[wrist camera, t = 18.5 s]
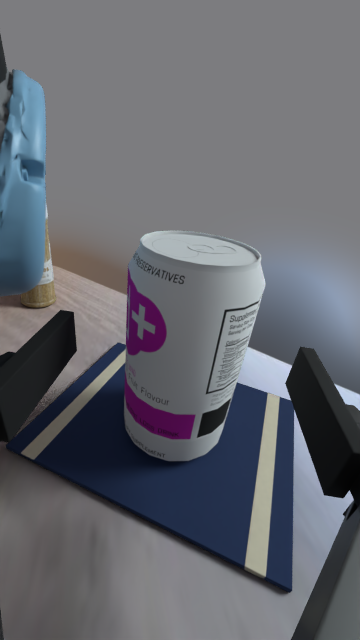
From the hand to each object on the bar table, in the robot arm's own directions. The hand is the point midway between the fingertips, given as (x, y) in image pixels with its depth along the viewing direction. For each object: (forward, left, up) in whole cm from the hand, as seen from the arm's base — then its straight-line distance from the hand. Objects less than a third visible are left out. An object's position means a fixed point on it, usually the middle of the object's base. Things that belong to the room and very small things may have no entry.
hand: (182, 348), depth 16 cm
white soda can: (-1, +3, -10) cm, 10 cm away
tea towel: (-1, +3, -10) cm, 11 cm away
